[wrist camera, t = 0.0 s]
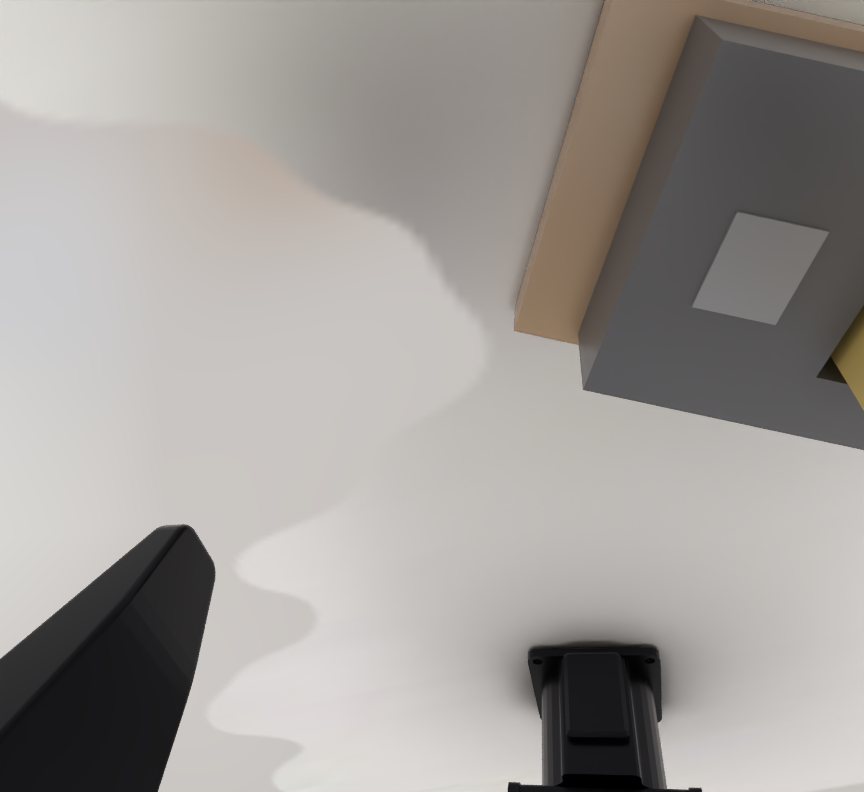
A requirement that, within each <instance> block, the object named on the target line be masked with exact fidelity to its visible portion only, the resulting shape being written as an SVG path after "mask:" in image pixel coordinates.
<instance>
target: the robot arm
mask: <svg viewBox="0 0 864 792" xmlns="http://www.w3.org/2000/svg"><path fill="white" fill-rule="evenodd" d="M214 582H215V566H214V563H213V560H212V559H211V557H210V555H209V554H208V552H207V550H206V549H205V547H204V545H203V544H202V542H201V540H200V539H199V537H198V535H197V534H196V532H195V530H194V529H193V528H192V527H190V526H189V525H185V524H183V525H166V526H161V527H159V528H157V529H156V530H154V531H153V532H152V533H151V534H149V535H148V536H147V537H146V538H145V539H143V540H142V541H141V542H140V543H139V544H137V545H136V546H135V547H134V548H133V549H131V550H130V551H129V552H128V553H127V554H125V555H124V556H123V557H122V558H121V559H119V560H118V561H117V562H116V563H115V564H114V565H112V566H111V567H110V568H109V569H108V570H106V571H105V572H104V573H103V574H101V575H100V576H99V577H98V578H97V579H95V580H94V581H93V582H92V583H91V584H90V585H88V586H87V587H86V588H85V589H83V590H82V591H81V592H80V593H79V594H77V596H75V597H74V598H73V599H71V600H70V601H69V602H68V603H67V604H66V605H64V606H63V607H62V608H61V609H60V610H59V611H57V612H56V613H55V614H54V615H52V616H51V617H50V618H49V619H48V620H46V621H45V622H44V623H43V624H42V625H41V626H39V627H38V628H37V629H36V630H34V631H33V632H32V633H31V634H30V635H28V636H27V637H26V638H25V639H24V640H22V641H21V642H20V643H19V644H18V645H16V646H15V647H14V648H13V649H12V650H11V651H9V652H8V653H7V654H6V655H4V656H3V657H2V658H1V659H0V792H158V789H159V786H160V783H161V780H162V777H163V774H164V770H165V768H166V764H167V761H168V758H169V755H170V752H171V749H172V746H173V743H174V740H175V737H176V734H177V730H178V727H179V724H180V721H181V718H182V715H183V712H184V708H185V706H186V703H187V699H188V696H189V692H190V689H191V686H192V682H193V678H194V674H195V670H196V665H197V661H198V657H199V652H200V647H201V642H202V638H203V633H204V629H205V624H206V619H207V615H208V610H209V605H210V601H211V596H212V591H213V587H214ZM528 665H529V669H530V674H531V678H532V683H533V687H534V692H535V696H536V701H537V705H538V710H539V714H540V718H541V720H542V785H521V784H520V783H518V782H509V784H508V792H702V789H701V788H689V790H678V789H667V785H666V778H665V771H664V764H663V757H662V750H661V743H660V736H659V729H658V722H660V721H661V719H662V708H661V666H660V655H659V652H658V651H657V650H656V649H654V648H590V649H534V650H531V651H529V652H528Z"/></svg>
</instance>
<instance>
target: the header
mask: <svg viewBox="0 0 864 792" xmlns="http://www.w3.org/2000/svg"><path fill="white" fill-rule="evenodd" d="M863 306H864V26H863V25H859V24H854V23H850V22H846V21H841V20H837V19H832V18H828V17H823V16H819V15H814V14H810V13H805V12H801V11H796V10H792V9H787V8H783V7H778V6H774V5H769V4H765V3H760V2H756V1H751V0H605V1H604V5H603V8H602V11H601V15H600V18H599V22H598V25H597V29H596V32H595V35H594V39H593V42H592V46H591V49H590V53H589V56H588V59H587V63H586V66H585V70H584V73H583V76H582V80H581V83H580V87H579V90H578V94H577V97H576V100H575V104H574V107H573V111H572V114H571V118H570V121H569V124H568V128H567V131H566V135H565V138H564V142H563V145H562V148H561V152H560V155H559V159H558V162H557V165H556V169H555V172H554V176H553V179H552V183H551V186H550V189H549V193H548V196H547V200H546V203H545V207H544V210H543V213H542V217H541V220H540V224H539V227H538V231H537V234H536V237H535V241H534V244H533V248H532V251H531V254H530V258H529V261H528V265H527V268H526V272H525V275H524V278H523V282H522V285H521V289H520V292H519V296H518V299H517V302H516V306H515V319H514V331H517V332H521V333H526V334H531V335H535V336H540V337H545V338H549V339H554V340H559V341H563V342H568V343H572V344H577V345H579V351H580V362H581V373H582V384H583V390H586V391H591V392H596V393H600V394H605V395H610V396H614V397H619V398H624V399H628V400H633V401H638V402H642V403H647V404H652V405H656V406H661V407H666V408H670V409H675V410H680V411H684V412H689V413H694V414H698V415H703V416H708V417H712V418H717V419H722V420H726V421H731V422H736V423H740V424H745V425H750V426H754V427H759V428H764V429H768V430H773V431H778V432H782V433H787V434H792V435H796V436H801V437H806V438H810V439H815V440H820V441H824V442H829V443H834V444H838V445H843V446H848V447H852V448H857V449H861V450H864V410H863V408H862V407H861V405H860V404H859V402H858V400H857V399H856V397H855V395H854V394H853V392H852V390H851V389H850V387H849V385H848V384H847V382H846V380H845V379H844V377H843V375H842V374H841V372H840V370H839V369H838V367H837V366H836V364H835V362H834V361H833V359H832V357H831V354H832V353H833V351H834V349H835V348H836V346H837V345H838V343H839V342H840V340H841V339H842V337H843V336H844V334H845V333H846V331H847V330H848V328H849V327H850V325H851V324H852V322H853V321H854V319H855V318H856V316H857V315H858V313H859V312H860V310H861V309H862V307H863Z"/></svg>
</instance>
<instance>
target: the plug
mask: <svg viewBox="0 0 864 792" xmlns="http://www.w3.org/2000/svg"><path fill="white" fill-rule="evenodd" d="M831 357H832V359H833V361H834V362H835V364H836V366H837V367H838V369H839V370H840V372H841V374H842V375H843V377H844V379H845V380H846V382H847V384H848V385H849V387H850V389H851V390H852V392H853V394H854V395H855V397H856V399H857V400H858V402H859V404H860V405H861V407H862V408H863V410H864V306H863V307H862V309H861V310H860V312H859V313H858V315H857V316H856V318H855V319H854V321H853V322H852V324H851V325H850V327H849V328H848V330H847V331H846V333H845V334H844V336H843V337H842V339H841V340H840V342H839V343H838V345H837V346H836V348H835V349H834V351H833V353H832V354H831Z"/></svg>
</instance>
